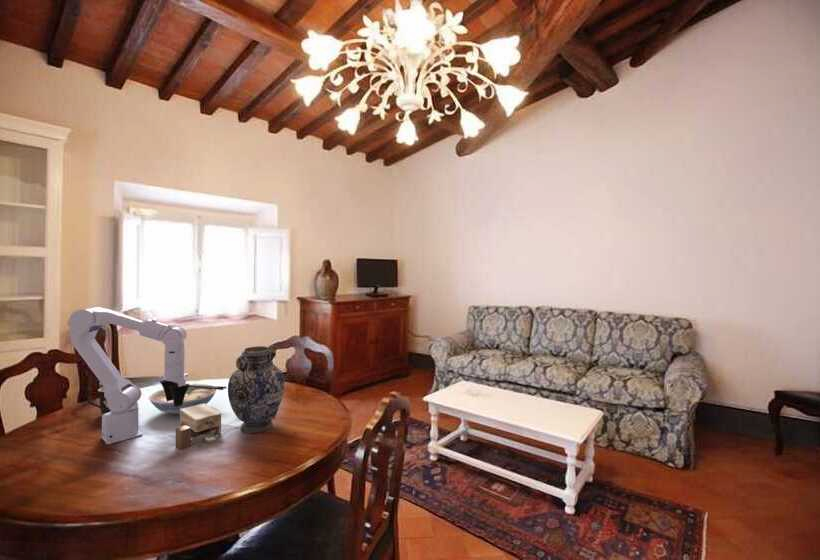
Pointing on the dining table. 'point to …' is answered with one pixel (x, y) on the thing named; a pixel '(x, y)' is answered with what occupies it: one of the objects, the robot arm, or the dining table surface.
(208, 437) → the button
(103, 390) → the coffee mug
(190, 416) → the tan slab
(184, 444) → the wood grain brick
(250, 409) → the decorative vase
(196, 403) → the ramen bowl
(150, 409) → the dining table surface
